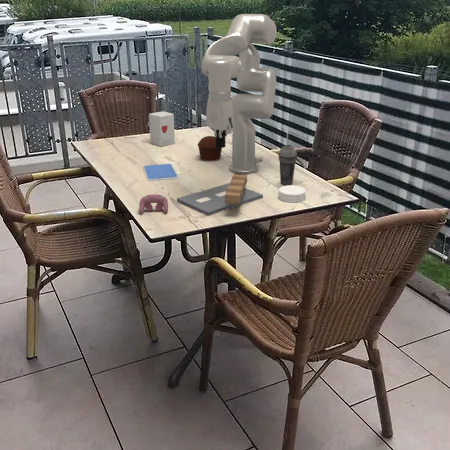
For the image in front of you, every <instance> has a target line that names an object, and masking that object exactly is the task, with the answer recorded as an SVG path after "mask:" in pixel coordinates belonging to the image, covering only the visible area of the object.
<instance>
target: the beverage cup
mask: <svg viewBox="0 0 450 450" xmlns="http://www.w3.org/2000/svg"><path fill="white" fill-rule="evenodd" d="M297 158H298V151H297V150H296V147H294V146H293V145H291V144H289V133H288V132H287V133H286V145H283V146H282V147H281V148H280V149H279V151H278V160H279V161H278V162H279V177H280V185H281V184H282V186H284V185H286V186H287V185H293V181H294V175H295V167H296V162H297Z"/></svg>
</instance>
